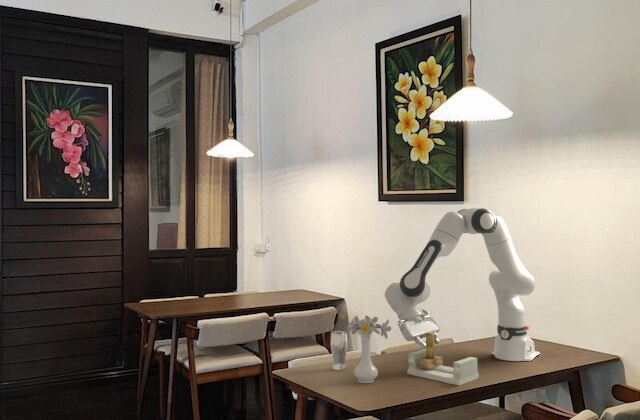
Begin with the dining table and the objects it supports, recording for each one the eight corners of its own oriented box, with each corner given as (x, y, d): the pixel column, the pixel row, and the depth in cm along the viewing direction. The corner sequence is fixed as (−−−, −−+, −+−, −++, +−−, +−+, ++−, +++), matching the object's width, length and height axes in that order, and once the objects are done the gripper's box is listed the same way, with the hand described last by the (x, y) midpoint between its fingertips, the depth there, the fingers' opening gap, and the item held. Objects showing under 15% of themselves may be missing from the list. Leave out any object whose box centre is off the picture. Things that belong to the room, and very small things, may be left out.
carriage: (432, 362, 265) (432, 330, 265) (442, 364, 262) (442, 332, 261) (417, 366, 258) (417, 334, 258) (428, 369, 254) (428, 335, 254)
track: (427, 367, 269) (427, 348, 269) (478, 378, 252) (478, 357, 252) (407, 373, 259) (407, 353, 259) (458, 385, 242) (458, 364, 242)
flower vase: (396, 380, 249) (395, 316, 249) (358, 388, 239) (357, 321, 238) (374, 373, 260) (374, 311, 259) (337, 380, 249) (337, 316, 249)
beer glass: (346, 371, 263) (346, 334, 263) (329, 370, 265) (329, 334, 265) (348, 367, 270) (348, 331, 270) (332, 366, 272) (332, 330, 271)
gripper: (400, 316, 257) (420, 344, 250) (430, 310, 272) (450, 336, 265) (391, 326, 260) (411, 354, 253) (421, 319, 275) (441, 345, 268)
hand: (431, 345), depth 259 cm, fingers open, 8 cm apart
